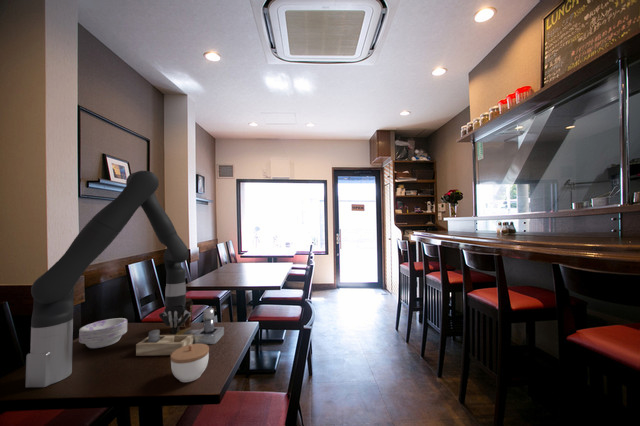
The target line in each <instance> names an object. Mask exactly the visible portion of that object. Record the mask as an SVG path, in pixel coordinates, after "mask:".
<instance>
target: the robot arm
mask: <svg viewBox="0 0 640 426" xmlns="http://www.w3.org/2000/svg"><path fill="white" fill-rule="evenodd" d="M159 182H160V181H159V178H158V176H157V175H156V174H155V173H154V172H152V171H149V170H139V171H134V172H132V173H130V174H129V175H128V176H127V178H126V181H125V184H126V185H125V187H124V188H123V190H121V192H120V193H119V195H117V196H116V197H115V199H113V200H112V201H110V203H108V204H107V205H106V206H104V207H103V208H102V209H100V210H99V211H98V212H97V213H96V214H95V215H94V216H93V217H92V218H91V219H90V220H88V222H87V223H86V224H85V226H83V228H82V229H81V230H80V231H79V232H78V234H77V235H76V237H75V238H74V239H73V241H72V242H71V243H70V246H68V248H67V250H66V251H65V252H64V254H63V255H62V256H61V257H60V258H59V259H58V260H57V261H56V262H55V263H54V264H53V265H52V266H51V267H50V268H49V269H48V270H47V271H45V272H44V273H43V274H42V275H40V276H39V277H37V279H36V280H35V281H34V282H33V283H32V286H31V287H30V293H31V296H32V298H33V302H32V303H33V308H32V315H31V321H30V323H31V324H30V351H29V352H30V353H29V352H28V353H27V354H26V357H25V358H26V359H25V388H45V387H48V386H51V385H53V384H56V383H58V382H61V381H62V380H63V381H64V380H65V379H66V378H68V377H69V376H71V375H72V372H73V337H74V336H73V331H74V330H73V329H74V327H73V326H74V308H75V307H74V306H75V305H74V304H75V286H76V284H77V282H78V281H79V280H80V278H81V277H82V275H83V274H84V273H85V271H86V270H87V268H88V267H89V266H90V265H91V264H92V263H93V262H95V261H96V259H97V258H98V257H99V256H100V255H101V254H102V253H103V252H104V251H105V250H107V248H108V247H109V246H110V245H111V243H113V241H115V239H116V238H117V237H118V235H119V234H120V233H121V232H122V231H123V229H124V228H125V226H126V225H127V224H128V223H129V221H130V220H131V219H132V217H133V216H134V215H135V213H136V212H137V210H138V209H139V208H140V207H141V208H142V210H143V212H144V214H145V215H146V217H147V219H148V221H149V223H150V226H151V227H152V230H153V231H154V234H155V235H156V238H157V239H158V241H159V243H160V244H162V245H164V246H165V247H166V249H165V250H164V253H163V263H164V267H165V271H166V277H165V278H166V281H165V282H166V284H165V285H166V286H165V292H164V293H165V295H164V296H165V299H164V300H165V301H164V306H165V308H164V311H162V312H161V313H159V315H158V316H159V318H160V319H161V321H162V322H163V323H164V325H165V326H166V327H170V335H176V333H178V332H179V326H181V325H182V324H184V323H185V321H186V320H187V319H188V317H189V316H190V315H191V312H188V311H187V310H186V307H185V303H186V298H187V297H186V296H187V295H186V294H187V285H186V270H185V268H184V267H183V266H182V263H184V262H187V260H188V259H189V256H190V255H189V253H190V252H189V249H188V247H187V245H186V243H185V242H184V241H183V239H182V238H181V237H180V236H179V235H178V232H177V230H176V228H175V226H174V224H173V222H172V220H171V219H170V216H169V215H168V214H167V213H166V212H165V210H164V208H163V207H162V206H161V204H160V202H159V200H158V199H157V195H156V191H157V190H158V188H159ZM183 314H184V317H183V319H182V320H181V316H182V315H183ZM180 320H181V321H180Z"/></svg>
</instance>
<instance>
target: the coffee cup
mask: <svg viewBox="0 0 640 426" xmlns="http://www.w3.org/2000/svg"><path fill="white" fill-rule="evenodd" d="M193 305H194V301H193V300H192V298H191V297H190V298H189V297H186V303H185V307H186V310H187V311H188V312H191V315H190V316H189V317H188V319H187V320H186V321H185V323H184V324H182V325H181V326H179V331H181V330H191V327H192V317H193V316H192V315H193ZM183 317H184V314H183V315H182V316H181V320H182V319H183ZM181 320H180V321H181Z"/></svg>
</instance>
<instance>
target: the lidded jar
mask: <svg viewBox="0 0 640 426" xmlns="http://www.w3.org/2000/svg"><path fill="white" fill-rule="evenodd" d="M209 352H210V346H209V344H190V345H186V346H183V347H181V348H178V349H177V350H175V351H174V352H173V353H172V354H171V355H170V366H171V367H170V368H171V373H172V375H173V376H174V377H175V378H176V379H177V380H179V382H181V383H190V382H193V381H196V380H198V379H199V378H200V377H201V376H202V374H203V373H204V371H205V370H206V369H207V367H208V364H209V357H210V353H209Z"/></svg>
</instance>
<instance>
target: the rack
mask: <svg viewBox="0 0 640 426" xmlns="http://www.w3.org/2000/svg"><path fill="white" fill-rule="evenodd" d="M160 333H161V331H160V329H152V330H150V331H148V336H147V337H145V338H144V339H142V340H141V341H139V342H137V343H136V344H135V356H140V357H141V356H142V357H143V356H171V354H172V353H173V352H174V351H175V350H177V349H178V348H181V347H183V346H186V345H190V344H193V335H171V334H160Z"/></svg>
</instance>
